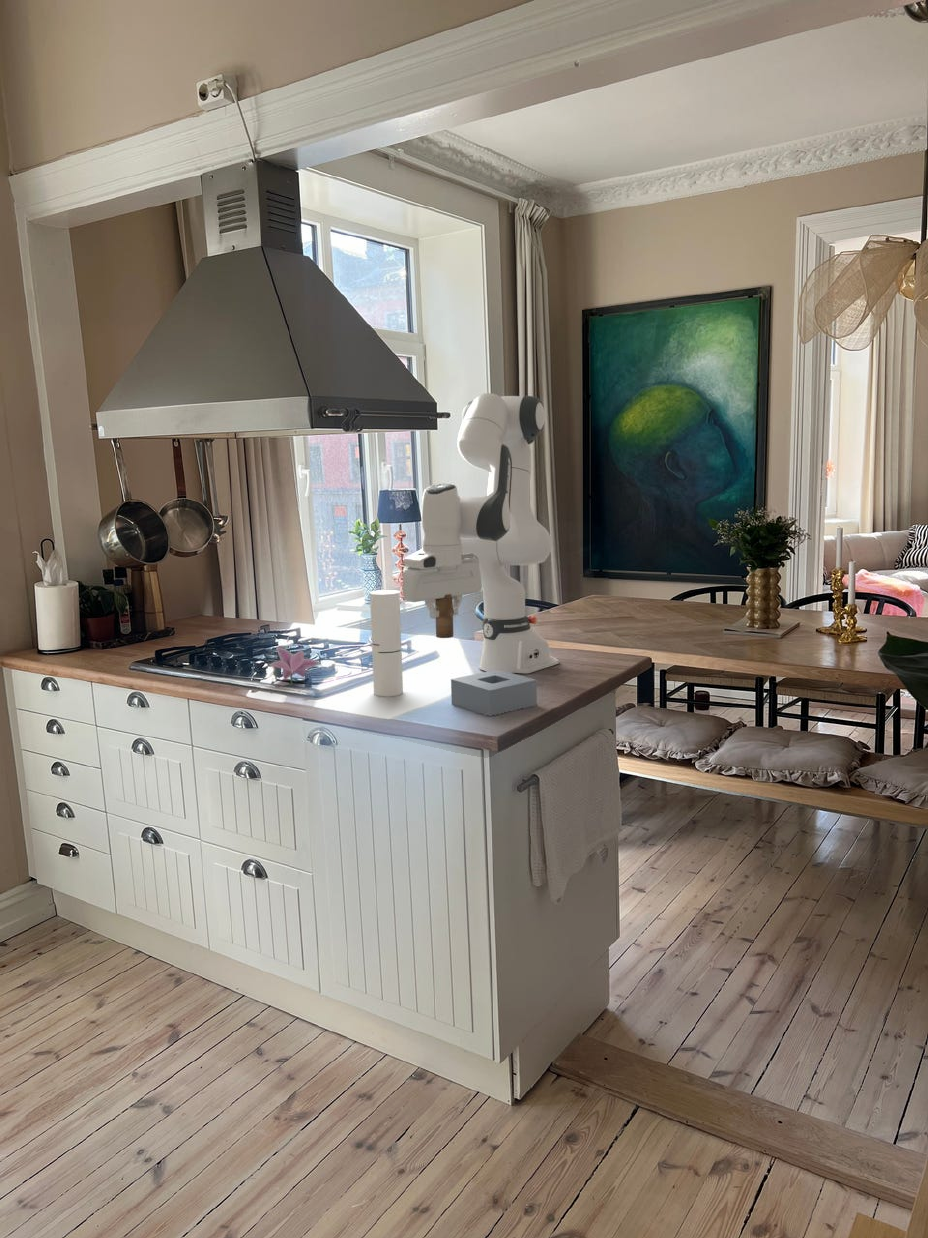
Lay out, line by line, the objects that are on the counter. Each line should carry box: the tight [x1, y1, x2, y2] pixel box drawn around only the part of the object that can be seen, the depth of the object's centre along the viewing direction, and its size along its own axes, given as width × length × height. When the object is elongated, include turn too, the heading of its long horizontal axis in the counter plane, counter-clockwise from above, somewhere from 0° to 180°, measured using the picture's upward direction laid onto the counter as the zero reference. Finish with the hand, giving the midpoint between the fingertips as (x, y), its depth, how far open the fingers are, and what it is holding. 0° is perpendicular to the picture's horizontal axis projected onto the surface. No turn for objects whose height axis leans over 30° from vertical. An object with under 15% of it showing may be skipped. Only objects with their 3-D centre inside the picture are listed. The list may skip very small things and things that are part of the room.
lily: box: [269, 646, 321, 686], centre depth 239 cm, size 12×12×10 cm
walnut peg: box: [434, 594, 454, 639], centre depth 213 cm, size 4×4×10 cm
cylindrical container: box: [369, 589, 404, 697], centre depth 226 cm, size 7×7×25 cm
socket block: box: [450, 670, 538, 717], centre depth 214 cm, size 14×14×6 cm
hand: (444, 616), depth 213 cm, fingers closed on walnut peg, 4 cm apart
